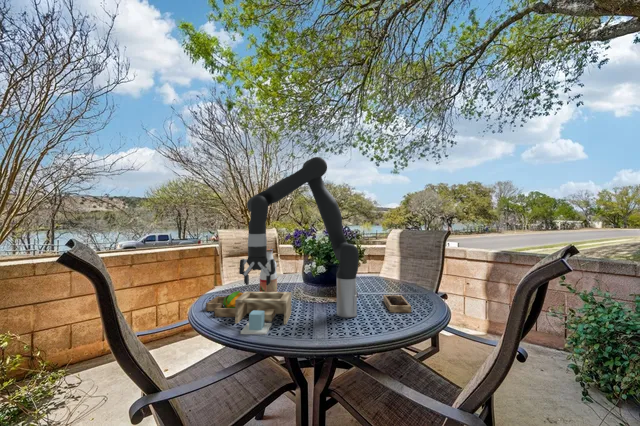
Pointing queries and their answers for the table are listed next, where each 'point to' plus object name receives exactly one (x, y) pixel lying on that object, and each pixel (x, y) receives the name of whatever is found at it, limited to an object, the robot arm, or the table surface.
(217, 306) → the corn rack
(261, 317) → the block
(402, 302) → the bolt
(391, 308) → the wooden tray
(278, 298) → the frame
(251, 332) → the tile
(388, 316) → the table surface
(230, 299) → the corn
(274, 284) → the fruit juice
